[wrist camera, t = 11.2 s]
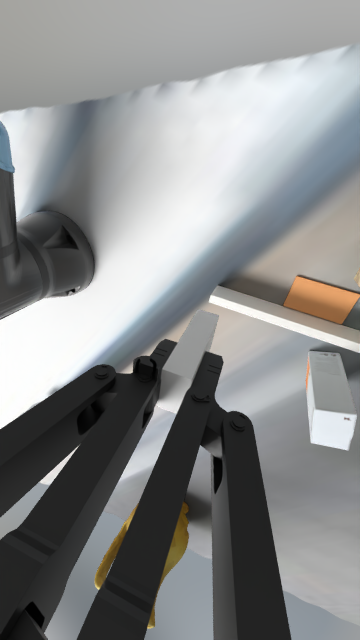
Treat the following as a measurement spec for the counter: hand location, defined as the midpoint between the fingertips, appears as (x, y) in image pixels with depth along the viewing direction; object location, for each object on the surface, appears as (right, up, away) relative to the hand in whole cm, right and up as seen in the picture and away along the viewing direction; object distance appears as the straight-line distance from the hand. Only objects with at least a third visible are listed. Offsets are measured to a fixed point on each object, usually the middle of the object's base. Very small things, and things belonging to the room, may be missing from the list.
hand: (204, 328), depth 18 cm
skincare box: (+20, -7, +21) cm, 30 cm away
